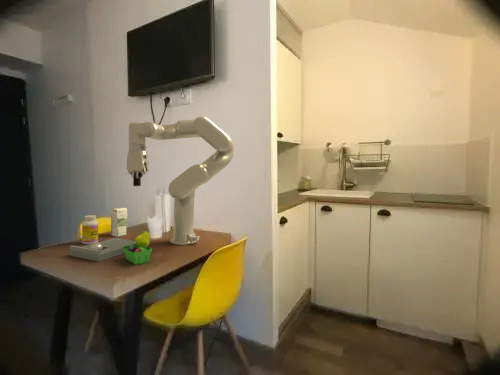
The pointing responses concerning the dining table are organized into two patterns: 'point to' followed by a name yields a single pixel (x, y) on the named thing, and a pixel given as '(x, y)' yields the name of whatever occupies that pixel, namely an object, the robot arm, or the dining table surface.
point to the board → (109, 250)
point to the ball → (96, 246)
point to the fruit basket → (139, 249)
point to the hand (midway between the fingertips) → (137, 185)
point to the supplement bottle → (90, 230)
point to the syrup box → (118, 222)
